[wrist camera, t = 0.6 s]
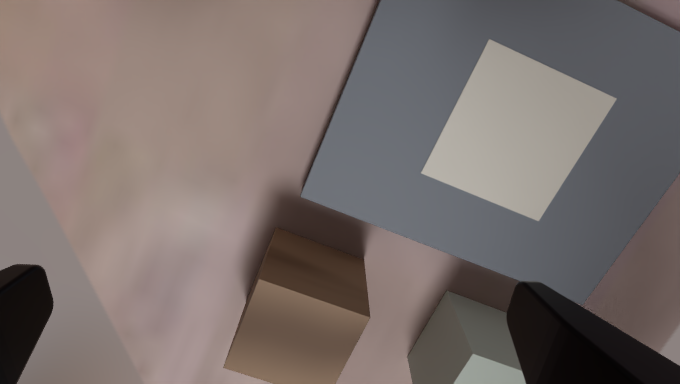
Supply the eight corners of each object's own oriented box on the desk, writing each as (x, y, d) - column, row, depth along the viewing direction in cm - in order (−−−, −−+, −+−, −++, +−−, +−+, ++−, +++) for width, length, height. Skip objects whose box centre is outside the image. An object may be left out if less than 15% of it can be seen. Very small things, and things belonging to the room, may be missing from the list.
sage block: (481, 381, 26) (512, 459, 21) (407, 356, 25) (422, 430, 20) (524, 318, 24) (569, 387, 19) (446, 289, 23) (473, 353, 19)
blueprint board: (572, 294, 23) (582, 305, 22) (302, 189, 21) (300, 197, 20) (734, 68, 19) (756, 70, 18) (417, -92, 17) (421, -99, 16)
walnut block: (329, 329, 24) (326, 400, 20) (246, 301, 24) (223, 367, 19) (363, 259, 23) (370, 317, 18) (276, 226, 22) (259, 278, 17)
